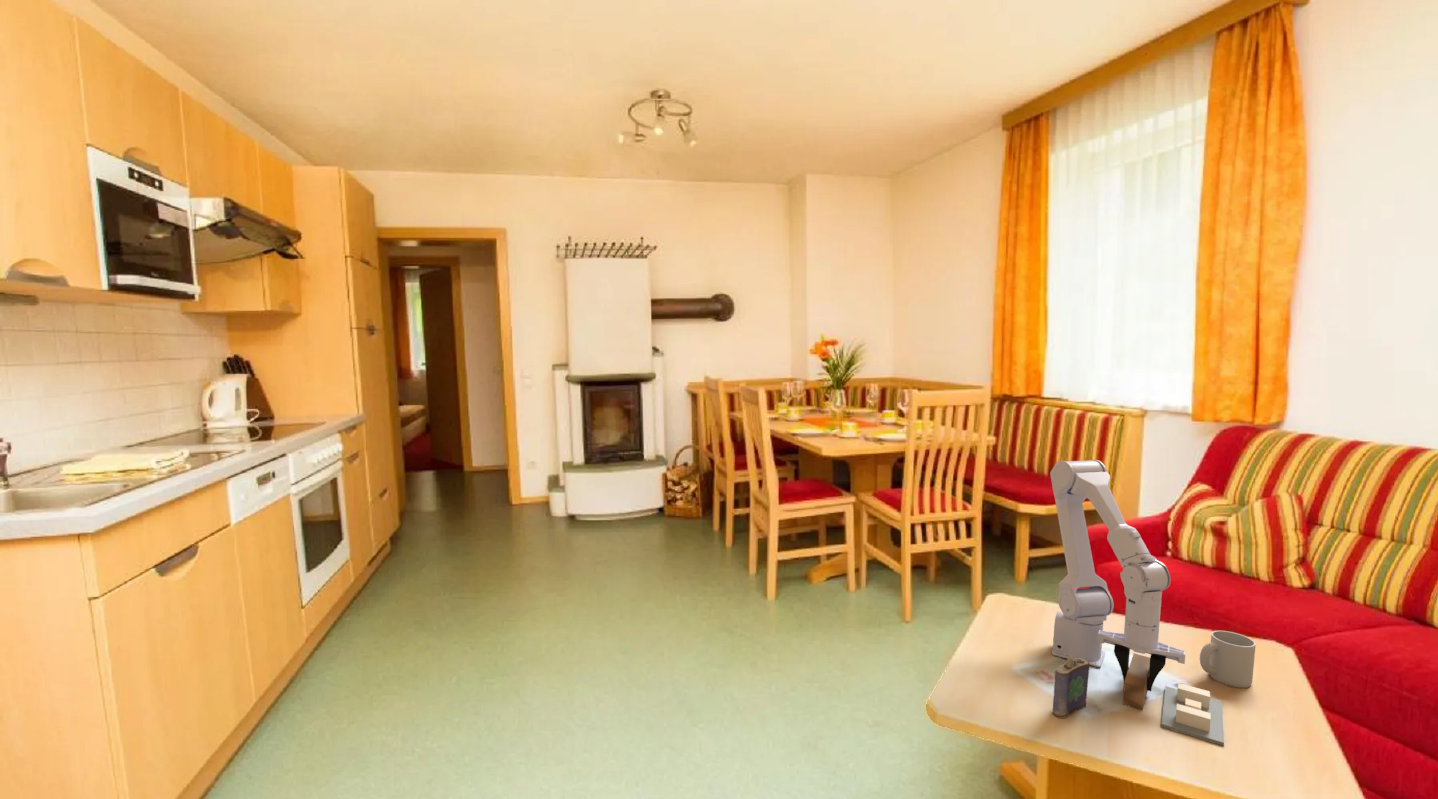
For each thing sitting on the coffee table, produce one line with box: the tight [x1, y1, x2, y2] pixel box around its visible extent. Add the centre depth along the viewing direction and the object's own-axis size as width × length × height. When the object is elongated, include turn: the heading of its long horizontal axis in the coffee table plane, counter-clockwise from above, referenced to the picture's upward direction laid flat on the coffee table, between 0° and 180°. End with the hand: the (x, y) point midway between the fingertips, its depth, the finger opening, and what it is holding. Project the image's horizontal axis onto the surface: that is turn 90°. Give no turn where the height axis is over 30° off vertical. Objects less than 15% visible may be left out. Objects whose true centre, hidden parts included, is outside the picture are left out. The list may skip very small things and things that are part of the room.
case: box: [1122, 652, 1150, 712], centre depth 127 cm, size 3×14×5 cm, turn 141°
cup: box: [1199, 630, 1257, 689], centre depth 132 cm, size 7×10×9 cm
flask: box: [1052, 654, 1090, 719], centre depth 121 cm, size 9×3×11 cm, turn 121°
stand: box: [1161, 682, 1225, 746], centre depth 120 cm, size 9×16×3 cm, turn 143°
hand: (1137, 685), depth 128 cm, fingers closed on case, 3 cm apart
